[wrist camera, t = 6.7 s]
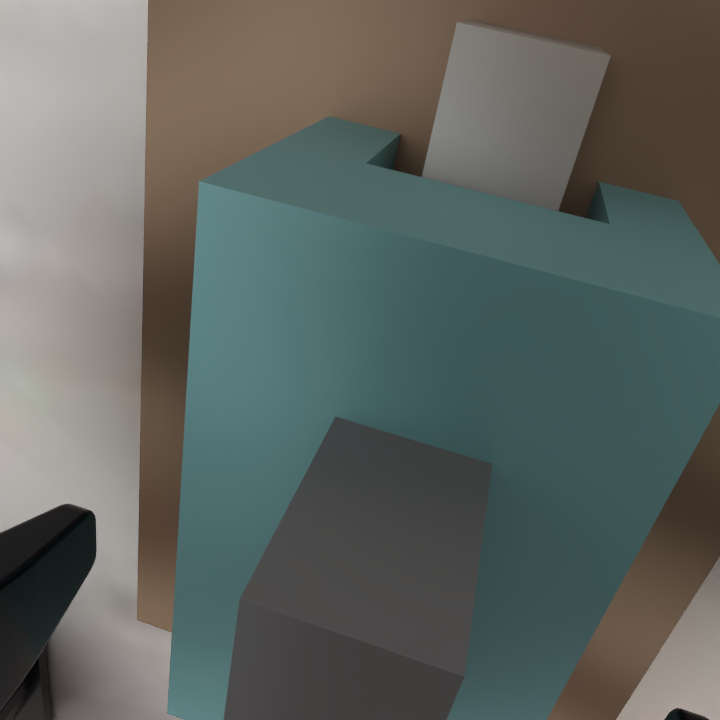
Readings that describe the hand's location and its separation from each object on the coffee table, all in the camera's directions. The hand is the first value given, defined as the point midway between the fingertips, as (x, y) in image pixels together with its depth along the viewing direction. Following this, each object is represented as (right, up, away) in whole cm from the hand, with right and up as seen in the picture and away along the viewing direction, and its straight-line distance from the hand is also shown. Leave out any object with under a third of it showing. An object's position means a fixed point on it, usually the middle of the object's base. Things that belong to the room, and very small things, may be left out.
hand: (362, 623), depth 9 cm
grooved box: (+1, +3, +5) cm, 6 cm away
